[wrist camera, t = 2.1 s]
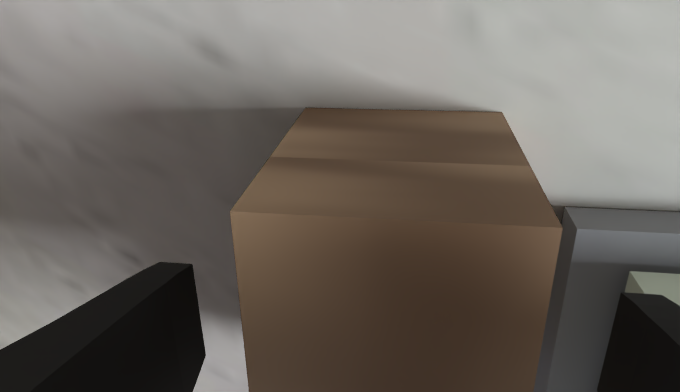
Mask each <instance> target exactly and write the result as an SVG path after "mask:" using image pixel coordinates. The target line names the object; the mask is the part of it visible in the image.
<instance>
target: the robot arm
mask: <svg viewBox="0 0 680 392" xmlns="http://www.w3.org/2000/svg"><path fill="white" fill-rule="evenodd" d="M205 356H206V354H205V347H204V340H203V333H202V327H201V320H200V313H199V306H198V299H197V293H196V286H195V279H194V272H193V265H192V264H182V263H167V262H159V263H157V264H155V265H153V266H151V267H149V268H147V269H145V270H143V271H141V272H139V273H137V274H135V275H134V276H132V277H130V278H128V279H126V280H125V281H123V282H121V283H119V284H118V285H116V286H114V287H112V288H111V289H109V290H107V291H106V292H104V293H102V294H100V295H99V296H97V297H95V298H93V299H92V300H90V301H88V302H86V303H85V304H83V305H81V306H80V307H78V308H76V309H74V310H73V311H71V312H69V313H67V314H66V315H64V316H62V317H60V318H59V319H57V320H55V321H53V322H52V323H50V324H48V325H46V326H44V327H42V328H40V329H38V330H37V331H35V332H33V333H31V334H29V335H27V336H25V337H23V338H22V339H20V340H18V341H16V342H14V343H12V344H10V345H8V346H7V347H5V348H3V349H1V350H0V392H193V389H194V387H195V384H196V381H197V378H198V376H199V373H200V370H201V367H202V364H203V361H204V359H205ZM597 392H680V306H679V305H677V304H676V303H674V302H673V301H671V300H669V299H668V298H666V297H665V296H663V295H657V294H642V293H626V292H621V294H620V298H619V302H618V306H617V310H616V314H615V318H614V322H613V326H612V331H611V335H610V339H609V343H608V347H607V351H606V355H605V359H604V363H603V367H602V371H601V375H600V379H599V383H598V387H597Z"/></svg>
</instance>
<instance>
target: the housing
mask: <svg viewBox="0 0 680 392" xmlns="http://www.w3.org/2000/svg"><path fill="white" fill-rule="evenodd" d="M625 292H626V293H642V294H657V295H663V296H665V297H666V298H668V299H669V300H671V301H673V302H674V303H676V304H677V305H679V306H680V274H671V273H654V272H637V271H630V272H629V276H628V280H627V284H626V288H625Z"/></svg>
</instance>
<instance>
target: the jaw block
mask: <svg viewBox="0 0 680 392" xmlns="http://www.w3.org/2000/svg"><path fill="white" fill-rule="evenodd" d="M230 217H231V227H232V236H233V246H234V255H235V264H236V274H237V283H238V293H239V302H240V311H241V321H242V330H243V340H244V349H245V358H246V368H247V377H248V387H249V392H533V391H534V385H535V379H536V374H537V368H538V363H539V357H540V352H541V346H542V341H543V335H544V329H545V324H546V318H547V313H548V307H549V302H550V296H551V290H552V285H553V279H554V274H555V268H556V263H557V257H558V252H559V246H560V240H561V235H562V229H563V227H562V226H561V224H560V222H559V220H558V218H557V216H556V214H555V212H554V210H553V208H552V206H551V205H550V203H549V201H548V199H547V197H546V195H545V193H544V191H543V189H542V187H541V186H540V184H539V182H538V180H537V178H536V176H535V174H534V172H533V170H532V168H531V166H530V165H529V163H528V161H527V159H526V157H525V155H524V153H523V151H522V149H521V147H520V145H519V144H518V142H517V140H516V138H515V136H514V134H513V132H512V130H511V128H510V126H509V125H508V123H507V121H506V119H505V117H504V115H503V113H502V112H467V111H425V110H383V109H342V108H305V109H304V111H303V112H302V113H301V115H300V116H299V117H298V119H297V120H296V122H295V123H294V124H293V126H292V127H291V128H290V130H289V131H288V133H287V134H286V135H285V137H284V138H283V139H282V141H281V142H280V143H279V145H278V146H277V148H276V149H275V150H274V152H273V153H272V154H271V156H270V157H269V159H268V160H267V161H266V163H265V164H264V165H263V167H262V168H261V169H260V171H259V172H258V174H257V175H256V176H255V178H254V179H253V180H252V182H251V183H250V185H249V186H248V187H247V189H246V190H245V191H244V193H243V194H242V196H241V197H240V198H239V200H238V201H237V202H236V204H235V205H234V206H233V208H232V209H231V211H230Z"/></svg>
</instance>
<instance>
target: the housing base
mask: <svg viewBox="0 0 680 392" xmlns="http://www.w3.org/2000/svg"><path fill="white" fill-rule="evenodd" d="M561 226H562V227H563V229H562V235H561V240H560V246H559V252H558V257H557V263H556V268H555V274H554V279H553V285H552V290H551V296H550V302H549V307H548V313H547V318H546V324H545V329H544V335H543V341H542V346H541V352H540V357H539V363H538V368H537V374H536V379H535V385H534V391H533V392H597V387H598V383H599V379H600V375H601V371H602V367H603V363H604V359H605V355H606V351H607V347H608V343H609V339H610V335H611V331H612V326H613V322H614V318H615V314H616V310H617V306H618V302H619V298H620V294H621V292H625V288H626V284H627V280H628V276H629V272H630V271H637V272H654V273H671V274H680V212H667V211H644V210H622V209H600V208H577V207H565V208H564V214H563V219H562V225H561Z"/></svg>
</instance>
